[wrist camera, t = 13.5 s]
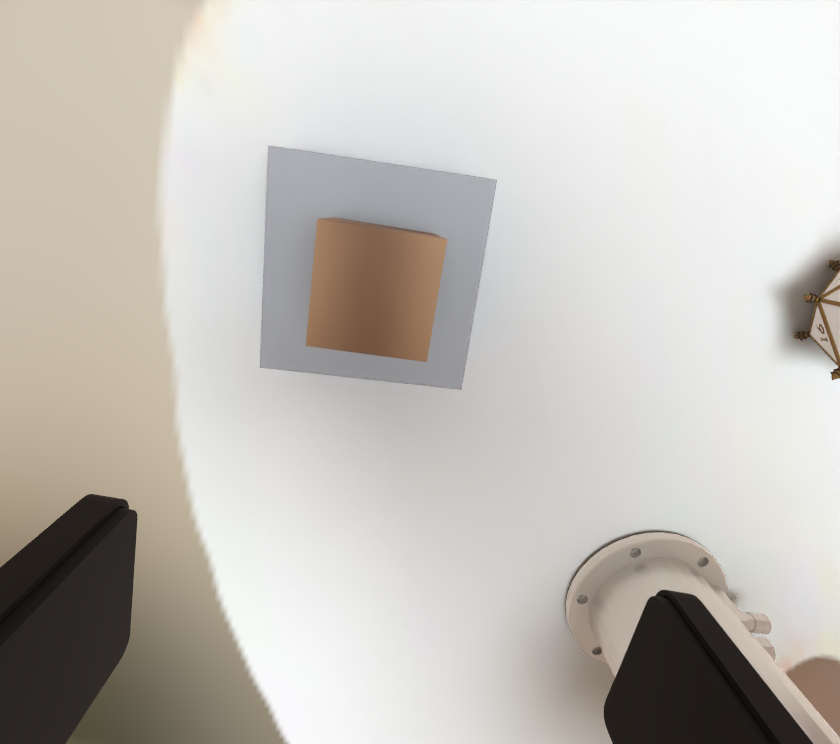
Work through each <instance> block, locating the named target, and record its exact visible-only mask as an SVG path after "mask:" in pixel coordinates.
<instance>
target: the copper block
mask: <svg viewBox="0 0 840 744" xmlns="http://www.w3.org/2000/svg"><path fill="white" fill-rule="evenodd" d="M446 245H447V239H445V238H443V237H441V236H439V235H436V234H434V233H428V232H422V231H416V230H410V229H403V228H397V227H391V226H385V225H379V224H373V223H366V222H360V221H354V220H348V219H342V218H336V217H332V218H319V219H317V226H316V237H315V248H314V259H313V270H312V282H311V293H310V304H309V315H308V326H307V337H306V346H310V347H317V348H325V349H332V350H339V351H347V352H354V353H362V354H369V355H377V356H384V357H391V358H399V359H406V360H414V361H421V362H427V358H428V352H429V346H430V340H431V334H432V328H433V322H434V316H435V311H436V305H437V299H438V293H439V287H440V281H441V275H442V269H443V263H444V257H445V251H446Z"/></svg>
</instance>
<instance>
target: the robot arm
mask: <svg viewBox="0 0 840 744" xmlns="http://www.w3.org/2000/svg"><path fill="white" fill-rule="evenodd" d="M136 531H137V513H136V511H134V510H130V509H129V506H128V503H127V501H126V500H124V499H118V498H112V497H106V496H100V495H94V494H90V495H87V496H85V497H84V498H82V499H81V500H80V501H79V502H77V503H76V504H75V505H74V506H73V507H71V508H70V509H69V510H68V511H67V512H66V513H64V514H63V515H62V516H61V517H60V518H58V519H57V520H56V521H55V522H54V523H53V524H51V525H50V526H49V527H48V528H47V529H45V530H44V531H43V532H42V533H41V534H40V535H38V536H37V537H36V538H35V539H34V540H32V542H30V543H29V544H28V545H27V546H25V547H24V548H23V549H22V550H21V551H19V552H18V553H17V554H16V555H15V556H14V557H12V558H11V559H10V560H9V561H8V562H6V563H5V564H4V565H3V566H2V567H0V744H65V743H66V742H67V740H68V739H69V737H70V736H71V734H72V733H73V731H74V730H75V728H76V727H77V725H78V724H79V722H80V720H81V719H82V717H83V716H84V714H85V713H86V711H87V710H88V708H89V707H90V705H91V704H92V702H93V701H94V699H95V698H96V696H97V695H98V693H99V691H100V690H101V689H102V687H103V685H104V684H105V682H106V681H107V679H108V678H109V676H110V675H111V673H112V672H113V670H114V669H115V667H116V666H117V664H118V663H119V661H120V659H121V658H122V656H123V654H124V652H125V650H126V647H127V644H128V641H129V636H130V625H131V609H132V594H133V578H134V561H135V546H136ZM566 618H567V621H568V624H569V627H570V630H571V632H572V634H573V636H574V638H575V640H576V642H577V643H578V644H579V646H580V647H581V648H582V649H583V651H585V652H586V653H587V654H588V655H589V656H591V657H592V658H594V659H596V660H598V661H600V662H602V663H604V664H608V665H609V667H610V669H611V671H612V673H613V675H614V678H615V680H614V682H613V684H612V687H611V689H610V692H609V694H608V696H607V699H606V701H605V705H604V720H605V724H606V727H607V730H608V733H609V735H610V738H611V740H612V742H613V744H840V737H838V735H837V734H836V733H835V732H834V730H833V729H832V728H831V727H830V726H829V724H828V723H827V722H826V721H825V720H824V718H823V717H822V716H821V715H820V714H819V713H818V711H817V710H816V709H815V708H814V707H813V706H812V704H811V703H810V702H809V701H808V700H807V699H806V697H805V696H804V695H803V694H802V693H801V691H800V690H799V689H798V688H797V687H796V685H795V684H794V683H793V682H792V681H791V680H790V678H789V677H788V676H787V675H786V674H785V673H784V671H783V670H782V669H781V668H780V667H779V665H778V664H777V663H776V662H775V651H774V647H773V646H772V644H771V643H770V641H768V640H767V639H766V638H760V637H754V636H753V635H752V634H751V632H752V633H761V634H768V633H769V632H770V631H771V623H770V620H769V619H768V617H767V616H765V615H764V614H756V613H742V612H741V611H740V610H739V609H738V608H737V606H736V605H735V604H734V603H733V602H732V601H731V600H730V598H729V597H728V596H727V583H726V578H725V575H724V573H723V571H722V568H721V566H720V565H719V564H718V562H717V561H716V560H715V559H714V558H713V556H712V555H711V554H710V553H709V552H708V551H707V550H706V549H705V548H704V547H703V546H701V545H700V544H698V543H696V542H695V541H693V540H691V539H689V538H686V537H683V536H680V535H678V534H671V533H664V532H655V533H643V534H638V535H633V536H630V537H627V538H624V539H621V540H618V541H616V542H614V543H612V544H610V545H609V546H607V547H605V548H603V549H602V550H600V551H599V552H598V553H596V554H595V555H594V556H592V557H591V558H590V559H589V560H588V561H587V562H586V563H585V564H584V565H583V566H582V568H581V569H580V570H579V572H578V573H577V575H576V576H575V578H574V579H573V581H572V583H571V586H570V588H569V591H568V594H567V600H566Z"/></svg>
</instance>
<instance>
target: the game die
mask: <svg viewBox="0 0 840 744" xmlns="http://www.w3.org/2000/svg"><path fill="white" fill-rule="evenodd" d="M829 267H830V268H832V270H836V271H837V272H836V274H835V275H834V276H833V278H832V279H831V280H830V282H829V283H828V284H827V286H826V287H825V289H824V290H823V291H822V293H821V294H820V295H819V297H818V296H817V295H815V294H814V295H813V294H812V293H809V294H807V295H804V296H803V297H804V299H805V300H806V302H810V303H813V302H816V303H815V307H814V311H813V315H812V320H811V324H810V328H809V331H808V332H804V331H803V332H798V334H797V335H796V336H795V337H794V338H797V339H800V340H802V339H806V338H808V337H811V338H812V339H813V340H814V341H815V342H816V343H817V344H818V345H819V347H820V348H821V349H822V350H823V351H824V352H825V353H826V354H827V355H828V356H829V357H830V358H831V359H832V360H833V361H834V362H835V363H836V364H837V365H838V368H837V369H834V371H833V372H831V374H832V380H834V379H838V378H840V263H839V261H831V260H830V266H829Z"/></svg>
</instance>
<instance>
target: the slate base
mask: <svg viewBox="0 0 840 744" xmlns="http://www.w3.org/2000/svg"><path fill="white" fill-rule="evenodd" d="M496 182H497V180H495V179H488V178H481V177H475V176H468V175H461V174H455V173H448V172H441V171H435V170H428V169H421V168H415V167H408V166H401V165H395V164H388V163H381V162H375V161H368V160H361V159H355V158H348V157H341V156H335V155H328V154H321V153H315V152H308V151H301V150H295V149H288V148H281V147H275V146H268V168H267V194H266V221H265V247H264V273H263V300H262V326H261V352H260V367H261V368H270V369H279V370H288V371H297V372H306V373H315V374H324V375H333V376H342V377H351V378H360V379H370V380H379V381H388V382H397V383H406V384H415V385H424V386H433V387H442V388H451V389H460V390H461V388H462V382H463V376H464V370H465V365H466V359H467V353H468V347H469V341H470V335H471V329H472V323H473V318H474V312H475V306H476V300H477V294H478V288H479V282H480V276H481V270H482V265H483V259H484V253H485V247H486V241H487V235H488V229H489V223H490V217H491V212H492V206H493V200H494V194H495V188H496ZM332 217H336V218H342V219H348V220H354V221H360V222H366V223H373V224H379V225H385V226H391V227H397V228H403V229H410V230H416V231H422V232H428V233H434V234H436V235H439V236H441V237H443V238H445V239H447V245H446V251H445V257H444V263H443V269H442V275H441V281H440V287H439V293H438V299H437V305H436V311H435V316H434V322H433V328H432V334H431V340H430V346H429V352H428V358H427V362H421V361H414V360H406V359H399V358H391V357H384V356H377V355H369V354H362V353H354V352H347V351H339V350H332V349H325V348H317V347H310V346H306V337H307V326H308V315H309V304H310V293H311V282H312V270H313V259H314V248H315V237H316V226H317V219H319V218H332Z"/></svg>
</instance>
